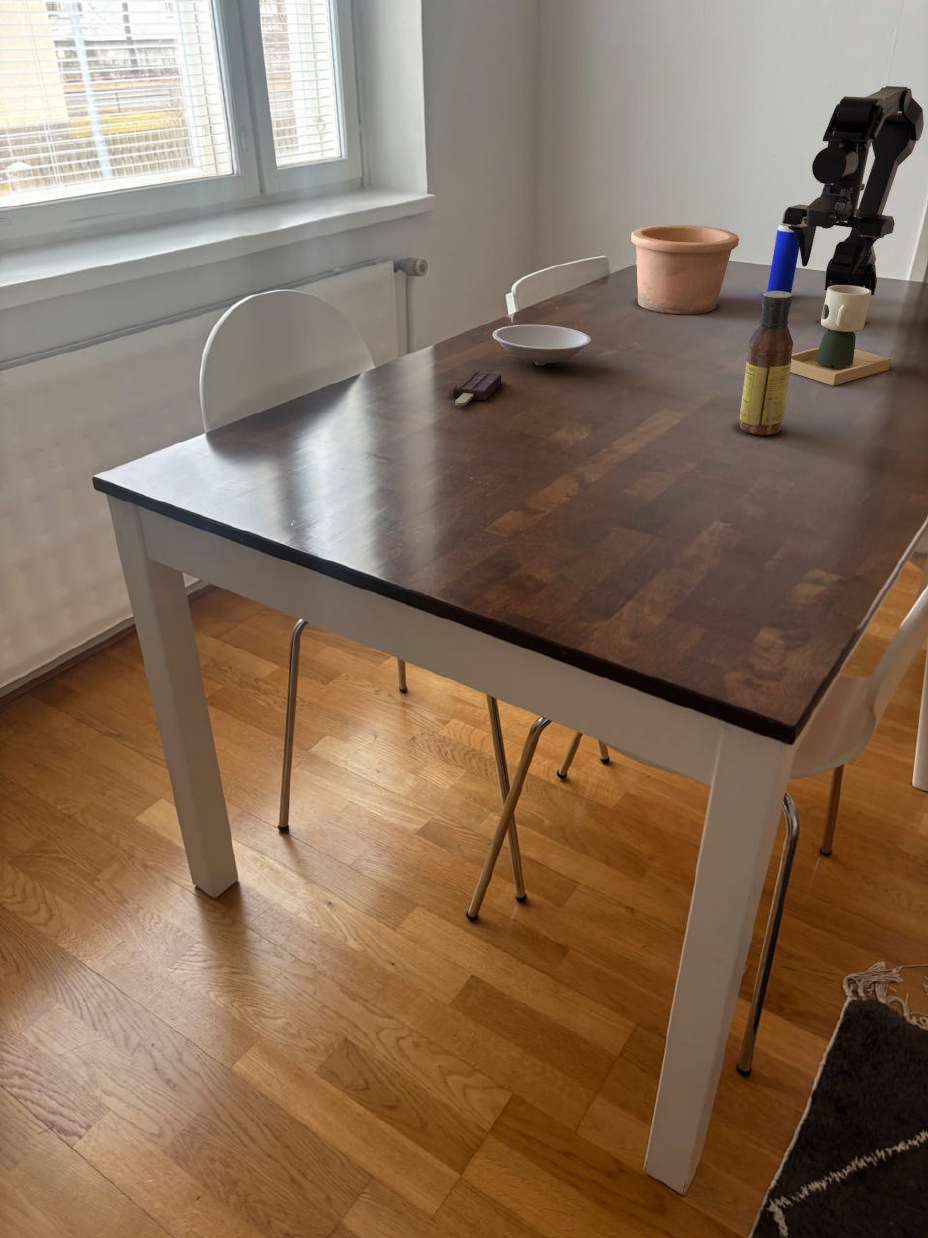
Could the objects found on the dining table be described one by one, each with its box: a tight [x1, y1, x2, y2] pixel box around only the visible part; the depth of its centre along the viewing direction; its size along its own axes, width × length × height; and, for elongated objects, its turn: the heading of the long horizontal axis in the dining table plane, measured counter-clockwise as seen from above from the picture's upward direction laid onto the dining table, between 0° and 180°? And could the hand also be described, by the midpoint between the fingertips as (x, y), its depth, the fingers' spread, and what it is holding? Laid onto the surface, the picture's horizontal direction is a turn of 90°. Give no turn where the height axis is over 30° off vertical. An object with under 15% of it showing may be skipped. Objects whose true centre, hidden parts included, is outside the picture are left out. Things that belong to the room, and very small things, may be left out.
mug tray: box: [790, 346, 892, 387], centre depth 168 cm, size 12×16×2 cm
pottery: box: [630, 224, 740, 315], centre depth 202 cm, size 22×22×14 cm
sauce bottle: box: [739, 291, 794, 436], centre depth 138 cm, size 6×6×20 cm
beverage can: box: [766, 223, 800, 294], centre depth 208 cm, size 5×5×15 cm
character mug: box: [815, 285, 872, 368], centre depth 165 cm, size 11×7×13 cm, turn 154°
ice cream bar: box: [452, 369, 502, 407], centre depth 155 cm, size 5×2×15 cm
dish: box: [492, 324, 592, 366], centre depth 168 cm, size 18×14×5 cm
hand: (827, 269), depth 176 cm, fingers open, 9 cm apart
